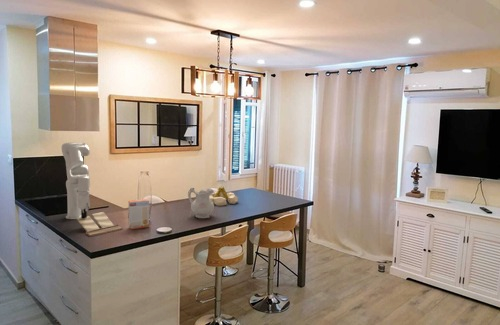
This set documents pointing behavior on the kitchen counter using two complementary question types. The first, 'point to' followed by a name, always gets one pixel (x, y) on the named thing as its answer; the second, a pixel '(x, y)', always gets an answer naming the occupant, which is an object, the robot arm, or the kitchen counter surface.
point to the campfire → (223, 197)
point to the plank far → (102, 220)
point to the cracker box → (138, 214)
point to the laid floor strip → (103, 230)
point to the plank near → (88, 223)
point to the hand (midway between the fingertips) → (84, 217)
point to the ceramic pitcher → (201, 203)
